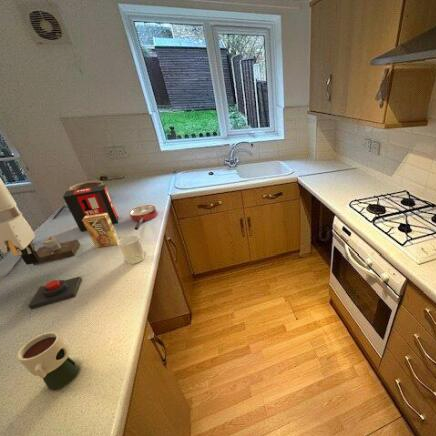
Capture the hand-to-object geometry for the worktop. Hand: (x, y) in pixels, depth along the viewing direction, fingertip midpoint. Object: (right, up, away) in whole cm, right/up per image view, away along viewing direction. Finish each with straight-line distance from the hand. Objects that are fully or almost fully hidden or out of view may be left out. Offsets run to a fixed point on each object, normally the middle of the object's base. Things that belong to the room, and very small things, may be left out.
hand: (33, 262), depth 81 cm
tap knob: (-18, +1, +26) cm, 31 cm away
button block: (+3, -12, +6) cm, 14 cm away
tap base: (-18, -1, +27) cm, 33 cm away
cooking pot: (-44, +25, +78) cm, 93 cm away
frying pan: (+6, +12, +51) cm, 53 cm away
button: (+3, -10, +4) cm, 11 cm away
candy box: (-1, +2, +34) cm, 34 cm away
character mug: (+30, -26, -20) cm, 44 cm away
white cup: (+20, -3, +23) cm, 30 cm away
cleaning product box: (-19, +11, +52) cm, 56 cm away
